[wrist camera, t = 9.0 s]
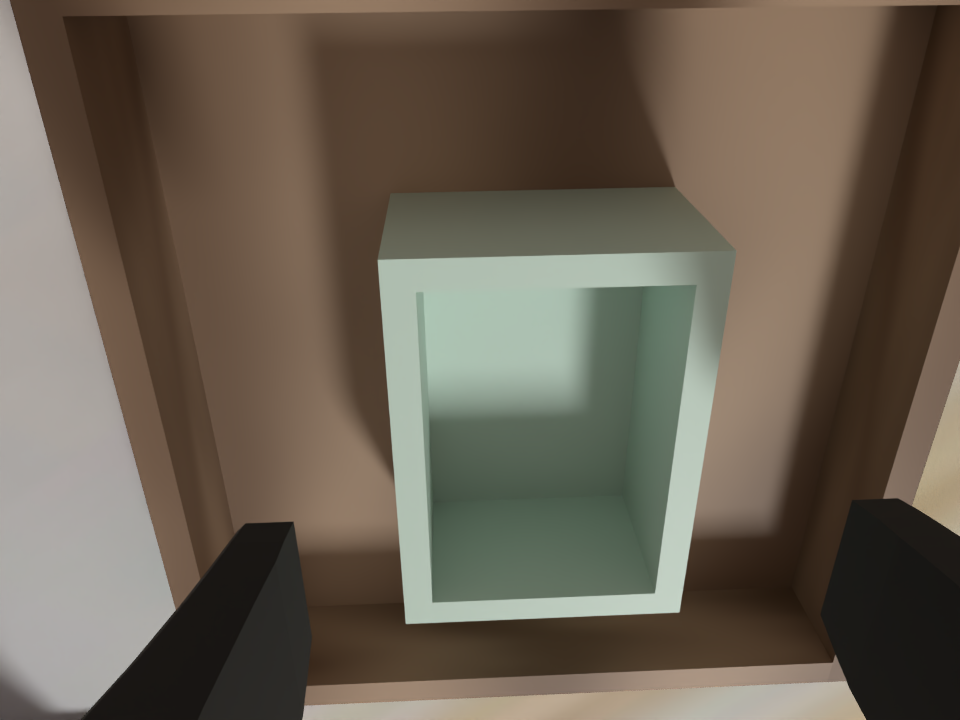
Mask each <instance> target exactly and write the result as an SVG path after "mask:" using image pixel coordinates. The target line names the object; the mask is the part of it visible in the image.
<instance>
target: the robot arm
mask: <svg viewBox="0 0 960 720" xmlns="http://www.w3.org/2000/svg"><path fill="white" fill-rule="evenodd" d="M820 615H821V618H822V620H823V623H824V626H825V628H826V631H827V633H828V636H829V639H830V641H831V644H832V647H833V649H834V652H835V654H836V657H837V659H838V662H839V664H840V666H841V669H842V671H843V674H844V676H845V678H846V681H847V683H848V685H849V688H850V690H851V692H852V694H853V696H854V698H855V699H856V701H857V703H858V705H859V707H860V709H861V711H862V712H863V714H864V716H865V718H866V720H960V536H958V535H957V534H955V533H954V532H952V531H951V530H949V529H947V528H946V527H944V526H943V525H941V524H940V523H938V522H937V521H935V520H933V519H932V518H930V517H929V516H927V515H926V514H924V513H922V512H921V511H919V510H917V509H916V508H914V507H912V506H911V505H909V504H907V503H906V502H904V501H902V500H900V499H899V498H890V499H864V500H852V502H851V506H850V509H849V513H848V516H847V520H846V524H845V527H844V531H843V534H842V538H841V542H840V545H839V549H838V552H837V556H836V560H835V563H834V567H833V570H832V574H831V578H830V581H829V585H828V588H827V592H826V595H825V599H824V603H823V606H822V610H821V613H820ZM311 641H312V634H311V628H310V621H309V615H308V609H307V602H306V596H305V590H304V584H303V577H302V571H301V565H300V558H299V552H298V546H297V539H296V533H295V527H294V521H293V522H267V523H245V524H244V525H243V526H242V527H241V528H240V529H239V530H238V531H237V532H236V533H235V535H234V536H233V537H232V539H231V540H230V541H229V543H228V544H227V545H226V547H225V548H224V549H223V551H222V552H221V553H220V555H219V556H218V557H217V559H216V560H215V561H214V562H213V564H212V565H211V566H210V568H209V569H208V570H207V572H206V573H205V574H204V575H203V577H202V578H201V579H200V581H199V582H198V583H197V584H196V586H195V587H194V588H193V590H192V591H191V592H190V593H189V595H188V596H187V597H186V598H185V600H184V601H183V602H182V603H181V605H180V606H179V607H178V608H177V610H176V611H175V612H174V613H173V615H172V616H171V617H170V618H169V619H168V621H167V622H166V623H165V624H164V625H163V627H162V628H161V629H160V630H159V631H158V633H157V634H156V635H155V636H154V637H153V639H152V640H151V641H150V642H149V643H148V645H147V646H146V647H145V648H144V649H143V651H142V652H141V653H140V654H139V655H138V657H137V658H136V659H135V660H134V661H133V662H132V664H131V665H130V666H129V667H128V668H127V669H126V670H125V672H124V673H123V674H122V675H121V676H120V677H119V678H118V679H117V680H116V681H115V683H114V684H113V685H112V686H111V687H110V688H109V689H108V690H107V691H106V692H105V694H104V695H103V696H102V697H101V698H100V699H99V700H98V701H97V702H96V703H95V705H94V706H93V707H92V708H91V709H90V710H89V711H88V712H87V713H86V714H85V715H84V717H83V718H82V719H81V720H302V717H303V711H304V703H305V695H306V687H307V678H308V669H309V660H310V650H311Z"/></svg>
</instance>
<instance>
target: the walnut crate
mask: <svg viewBox="0 0 960 720" xmlns="http://www.w3.org/2000/svg"><path fill="white" fill-rule="evenodd" d="M10 2H11V6H12V10H13V13H14V17H15V21H16V24H17V28H18V32H19V35H20V39H21V43H22V46H23V50H24V54H25V57H26V61H27V65H28V68H29V72H30V76H31V80H32V83H33V87H34V91H35V94H36V98H37V102H38V105H39V109H40V113H41V116H42V120H43V124H44V127H45V131H46V135H47V138H48V142H49V146H50V149H51V153H52V157H53V160H54V164H55V168H56V171H57V175H58V179H59V182H60V186H61V190H62V193H63V197H64V201H65V204H66V208H67V212H68V215H69V219H70V223H71V226H72V230H73V234H74V237H75V241H76V245H77V248H78V252H79V256H80V259H81V263H82V267H83V270H84V274H85V278H86V281H87V285H88V289H89V292H90V296H91V300H92V303H93V307H94V311H95V314H96V318H97V322H98V325H99V329H100V333H101V336H102V340H103V344H104V347H105V351H106V355H107V358H108V362H109V366H110V369H111V373H112V377H113V380H114V384H115V388H116V391H117V395H118V399H119V402H120V406H121V410H122V414H123V417H124V421H125V425H126V428H127V432H128V436H129V439H130V443H131V447H132V450H133V454H134V458H135V461H136V465H137V469H138V472H139V476H140V480H141V483H142V487H143V491H144V494H145V498H146V502H147V505H148V509H149V513H150V516H151V520H152V524H153V527H154V531H155V535H156V538H157V542H158V546H159V549H160V553H161V557H162V560H163V564H164V568H165V571H166V575H167V579H168V582H169V586H170V590H171V593H172V597H173V601H174V604H175V608H176V610H177V608H178V607H179V606H180V605H181V603H182V602H183V601H184V600H185V598H186V597H187V596H188V595H189V593H190V592H191V591H192V590H193V588H194V587H195V586H196V584H197V583H198V582H199V581H200V579H201V578H202V577H203V575H204V574H205V573H206V572H207V570H208V569H209V568H210V566H211V565H212V564H213V562H214V561H215V560H216V559H217V557H218V556H219V555H220V553H221V552H222V551H223V549H224V548H225V547H226V545H227V544H228V543H229V541H230V540H231V539H232V537H233V536H234V535H235V533H236V532H237V531H238V530H239V529H240V528H241V527H242V526H243V525H244V524H245V523H267V522H293V521H294V527H295V533H296V539H297V546H298V552H299V558H300V565H301V571H302V577H303V584H304V590H305V596H306V602H307V609H308V615H309V621H310V628H311V634H312V641H311V650H310V660H309V669H308V678H307V687H306V695H305V703H304V705H326V704H349V703H371V702H393V701H415V700H437V699H459V698H481V697H503V696H525V695H547V694H570V693H592V692H614V691H636V690H658V689H680V688H702V687H724V686H746V685H768V684H791V683H813V682H835V681H846V678H845V676H844V674H843V671H842V669H841V666H840V664H839V662H838V659H837V657H836V654H835V652H834V649H833V647H832V644H831V641H830V639H829V636H828V633H827V631H826V628H825V626H824V623H823V620H822V618H821V615H820V613H821V610H822V606H823V603H824V599H825V595H826V592H827V588H828V585H829V581H830V578H831V574H832V570H833V567H834V563H835V560H836V556H837V552H838V549H839V545H840V542H841V538H842V534H843V531H844V527H845V524H846V520H847V516H848V513H849V509H850V506H851V502H852V500H864V499H890V498H899V499H900V500H902V501H904V502H906V503H907V504H909V505H911V506H912V504H913V501H914V498H915V495H916V492H917V489H918V485H919V482H920V479H921V476H922V473H923V470H924V467H925V464H926V461H927V458H928V455H929V452H930V449H931V446H932V443H933V440H934V437H935V434H936V431H937V428H938V425H939V422H940V419H941V416H942V413H943V410H944V407H945V403H946V400H947V397H948V394H949V391H950V388H951V385H952V382H953V379H954V376H955V373H956V370H957V367H958V364H959V361H960V0H10ZM648 187H676V188H677V189H678V190H679V191H680V192H681V193H682V194H683V196H684V197H685V198H686V199H687V200H688V201H689V202H690V203H691V204H692V205H693V206H694V207H695V208H696V209H697V210H698V211H699V212H700V213H701V214H702V215H703V216H704V217H705V218H706V219H707V220H708V221H709V223H710V224H711V225H712V226H713V227H714V228H715V229H716V230H717V231H718V232H719V233H720V234H721V235H722V236H723V237H724V238H725V239H726V240H727V241H728V242H729V243H730V244H731V245H732V246H733V247H734V248H735V250H736V251H737V252H736V258H735V265H734V271H733V277H732V284H731V290H730V296H729V303H728V309H727V315H726V321H725V328H724V334H723V340H722V347H721V353H720V359H719V366H718V372H717V378H716V385H715V391H714V397H713V404H712V410H711V416H710V422H709V429H708V435H707V441H706V448H705V454H704V460H703V467H702V473H701V479H700V486H699V492H698V498H697V504H696V511H695V517H694V523H693V530H692V536H691V542H690V549H689V555H688V561H687V568H686V574H685V580H684V587H683V593H682V599H681V605H680V612H678V613H654V614H631V615H607V616H584V617H560V618H536V619H513V620H489V621H465V622H442V623H418V624H406V620H405V607H404V594H403V582H402V569H401V556H400V543H399V530H398V517H397V504H396V491H395V478H394V466H393V453H392V440H391V427H390V414H389V401H388V388H387V375H386V362H385V350H384V337H383V324H382V311H381V298H380V285H379V272H378V255H379V250H380V245H381V240H382V235H383V230H384V224H385V219H386V214H387V209H388V204H389V199H390V194H391V193H424V192H469V191H513V190H558V189H603V188H648Z"/></svg>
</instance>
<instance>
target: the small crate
mask: <svg viewBox="0 0 960 720" xmlns="http://www.w3.org/2000/svg"><path fill="white" fill-rule="evenodd" d="M736 252H737V251H736V250H735V248H734V247H733V246H732V245H731V244H730V243H729V242H728V241H727V240H726V239H725V238H724V237H723V236H722V235H721V234H720V233H719V232H718V231H717V230H716V229H715V228H714V227H713V226H712V225H711V224H710V223H709V221H708V220H707V219H706V218H705V217H704V216H703V215H702V214H701V213H700V212H699V211H698V210H697V209H696V208H695V207H694V206H693V205H692V204H691V203H690V202H689V201H688V200H687V199H686V198H685V197H684V196H683V194H682V193H681V192H680V191H679V190H678V189H677V188H676V187H648V188H603V189H558V190H513V191H469V192H424V193H391V194H390V199H389V204H388V209H387V214H386V219H385V224H384V230H383V235H382V240H381V245H380V250H379V255H378V272H379V285H380V298H381V311H382V324H383V337H384V350H385V362H386V375H387V388H388V401H389V414H390V427H391V440H392V453H393V466H394V478H395V491H396V504H397V517H398V530H399V543H400V556H401V569H402V582H403V594H404V607H405V620H406V624H418V623H442V622H465V621H489V620H513V619H536V618H560V617H584V616H607V615H631V614H654V613H678V612H680V605H681V599H682V593H683V587H684V580H685V574H686V568H687V561H688V555H689V549H690V542H691V536H692V530H693V523H694V517H695V511H696V504H697V498H698V492H699V486H700V479H701V473H702V467H703V460H704V454H705V448H706V441H707V435H708V429H709V422H710V416H711V410H712V404H713V397H714V391H715V385H716V378H717V372H718V366H719V359H720V353H721V347H722V340H723V334H724V328H725V321H726V315H727V309H728V303H729V296H730V290H731V284H732V277H733V271H734V265H735V258H736Z"/></svg>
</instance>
